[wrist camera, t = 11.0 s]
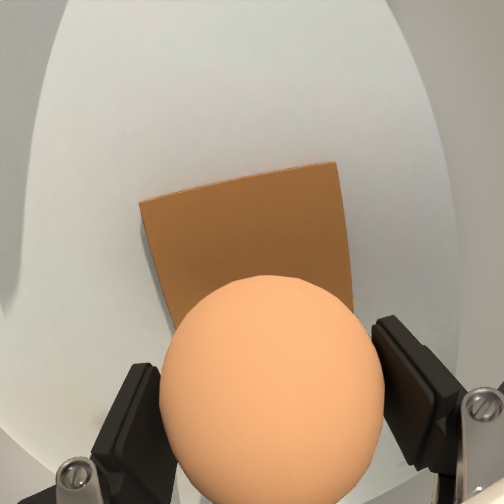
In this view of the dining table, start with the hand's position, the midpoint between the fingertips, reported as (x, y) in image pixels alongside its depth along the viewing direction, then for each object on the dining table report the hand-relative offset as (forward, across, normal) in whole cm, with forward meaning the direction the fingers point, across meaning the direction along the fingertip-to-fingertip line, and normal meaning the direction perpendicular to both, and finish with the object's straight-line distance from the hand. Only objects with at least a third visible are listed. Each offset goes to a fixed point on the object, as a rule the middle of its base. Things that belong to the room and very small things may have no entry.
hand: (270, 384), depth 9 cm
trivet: (+11, 0, 0) cm, 11 cm away
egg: (+4, 0, 0) cm, 4 cm away
